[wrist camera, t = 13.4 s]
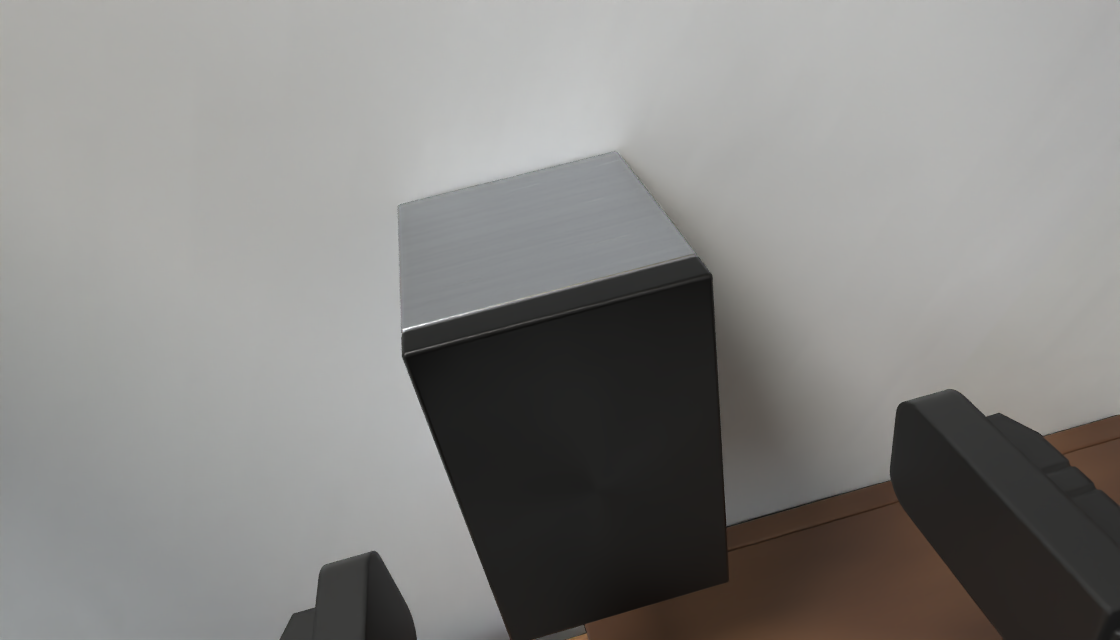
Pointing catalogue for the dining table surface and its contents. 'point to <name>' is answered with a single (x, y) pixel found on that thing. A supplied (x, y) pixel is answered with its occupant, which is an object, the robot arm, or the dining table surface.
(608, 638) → the cabinet
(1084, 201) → the dining table surface
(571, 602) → the black lidded box
